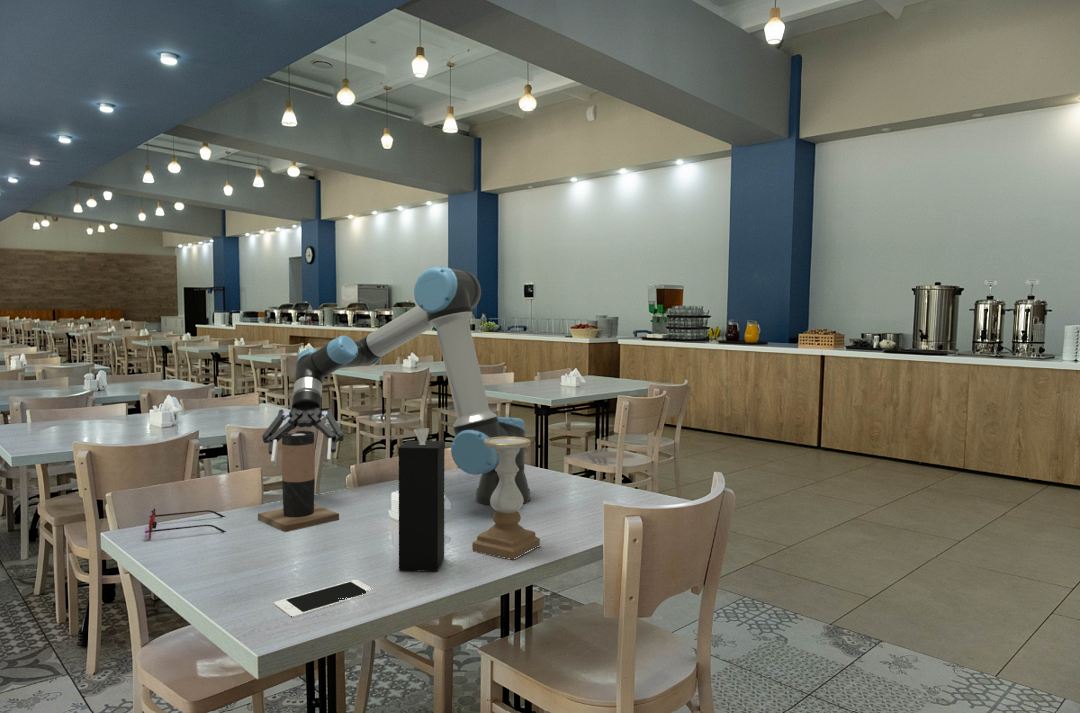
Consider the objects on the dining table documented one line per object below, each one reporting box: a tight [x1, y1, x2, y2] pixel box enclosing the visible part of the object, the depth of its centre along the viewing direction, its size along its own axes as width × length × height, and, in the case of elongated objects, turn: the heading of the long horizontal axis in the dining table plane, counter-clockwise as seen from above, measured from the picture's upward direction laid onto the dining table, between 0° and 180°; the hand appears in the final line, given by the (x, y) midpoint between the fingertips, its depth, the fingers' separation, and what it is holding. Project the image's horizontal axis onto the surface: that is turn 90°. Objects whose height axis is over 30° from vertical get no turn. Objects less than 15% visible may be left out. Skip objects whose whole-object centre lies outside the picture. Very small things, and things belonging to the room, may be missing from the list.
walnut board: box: [257, 503, 340, 533], centre depth 170 cm, size 14×14×2 cm
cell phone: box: [273, 579, 372, 618], centre depth 123 cm, size 8×16×1 cm, turn 134°
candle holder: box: [471, 436, 541, 559], centre depth 149 cm, size 11×11×24 cm
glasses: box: [144, 508, 227, 541], centre depth 162 cm, size 14×16×5 cm
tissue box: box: [397, 427, 446, 572], centre depth 139 cm, size 8×8×28 cm
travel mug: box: [281, 430, 316, 517], centre depth 170 cm, size 8×8×20 cm
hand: (301, 462), depth 176 cm, fingers open, 13 cm apart
